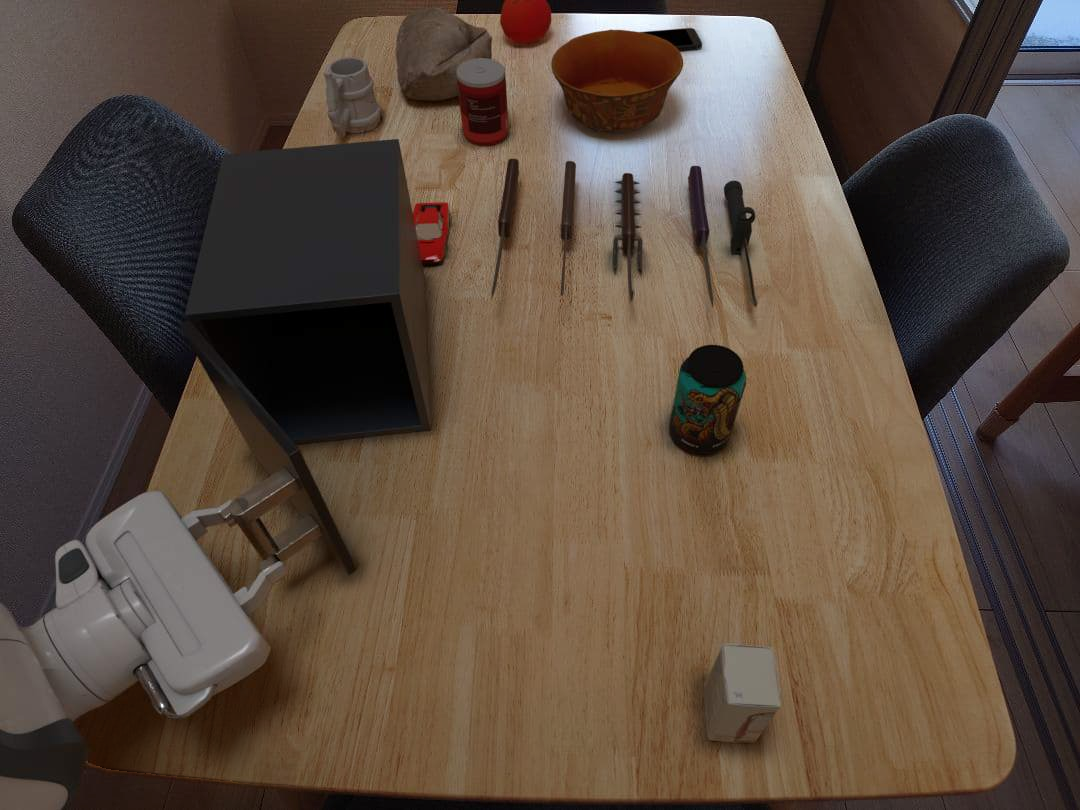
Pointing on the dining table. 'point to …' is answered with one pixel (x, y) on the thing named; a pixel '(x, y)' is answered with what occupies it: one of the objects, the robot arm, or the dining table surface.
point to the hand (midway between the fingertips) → (261, 533)
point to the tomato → (525, 20)
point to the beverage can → (707, 399)
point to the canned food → (483, 101)
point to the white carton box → (741, 693)
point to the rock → (436, 52)
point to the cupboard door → (270, 469)
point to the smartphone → (679, 37)
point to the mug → (351, 96)
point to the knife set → (698, 215)
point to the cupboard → (318, 289)
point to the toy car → (432, 230)
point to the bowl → (616, 77)
